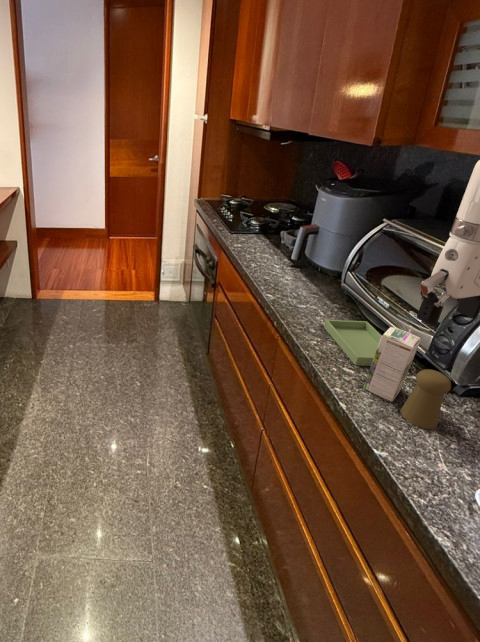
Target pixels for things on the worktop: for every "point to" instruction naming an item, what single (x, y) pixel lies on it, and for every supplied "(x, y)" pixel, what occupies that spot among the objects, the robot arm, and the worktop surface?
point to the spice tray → (355, 339)
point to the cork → (426, 399)
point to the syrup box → (391, 363)
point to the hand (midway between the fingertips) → (446, 318)
